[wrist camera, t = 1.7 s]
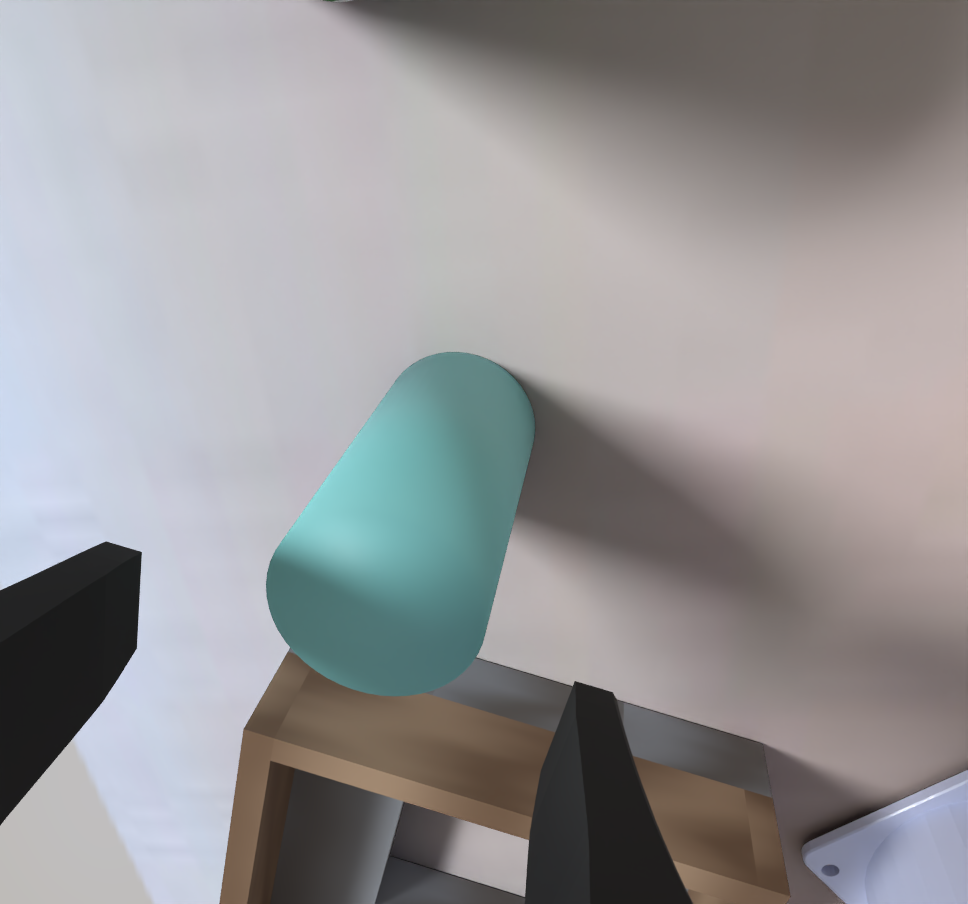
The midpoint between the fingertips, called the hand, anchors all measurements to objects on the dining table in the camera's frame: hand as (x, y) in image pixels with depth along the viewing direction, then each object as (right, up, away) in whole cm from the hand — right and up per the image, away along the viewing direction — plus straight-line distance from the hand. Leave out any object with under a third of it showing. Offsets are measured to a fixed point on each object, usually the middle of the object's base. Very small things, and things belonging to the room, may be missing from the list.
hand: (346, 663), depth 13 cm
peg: (+2, +4, +8) cm, 10 cm away
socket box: (+2, -9, +15) cm, 18 cm away
